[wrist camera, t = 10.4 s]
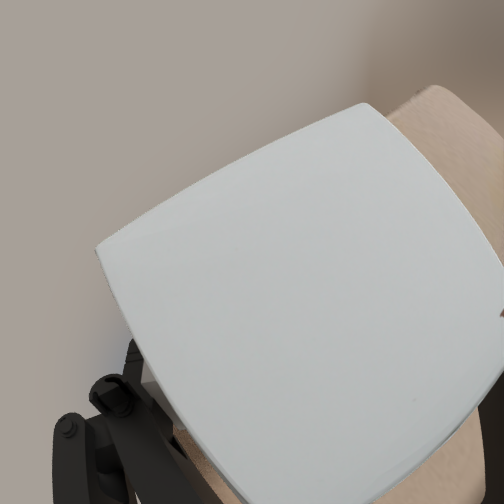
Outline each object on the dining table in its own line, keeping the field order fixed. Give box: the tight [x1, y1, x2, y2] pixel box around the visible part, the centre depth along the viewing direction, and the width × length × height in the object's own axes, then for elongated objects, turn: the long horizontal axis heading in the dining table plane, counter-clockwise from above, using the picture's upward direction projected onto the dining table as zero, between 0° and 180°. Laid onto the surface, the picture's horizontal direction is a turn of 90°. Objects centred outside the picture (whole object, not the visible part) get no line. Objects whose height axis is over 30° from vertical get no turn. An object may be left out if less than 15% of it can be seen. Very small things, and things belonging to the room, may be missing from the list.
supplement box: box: [95, 103, 504, 504], centre depth 10 cm, size 7×7×13 cm
